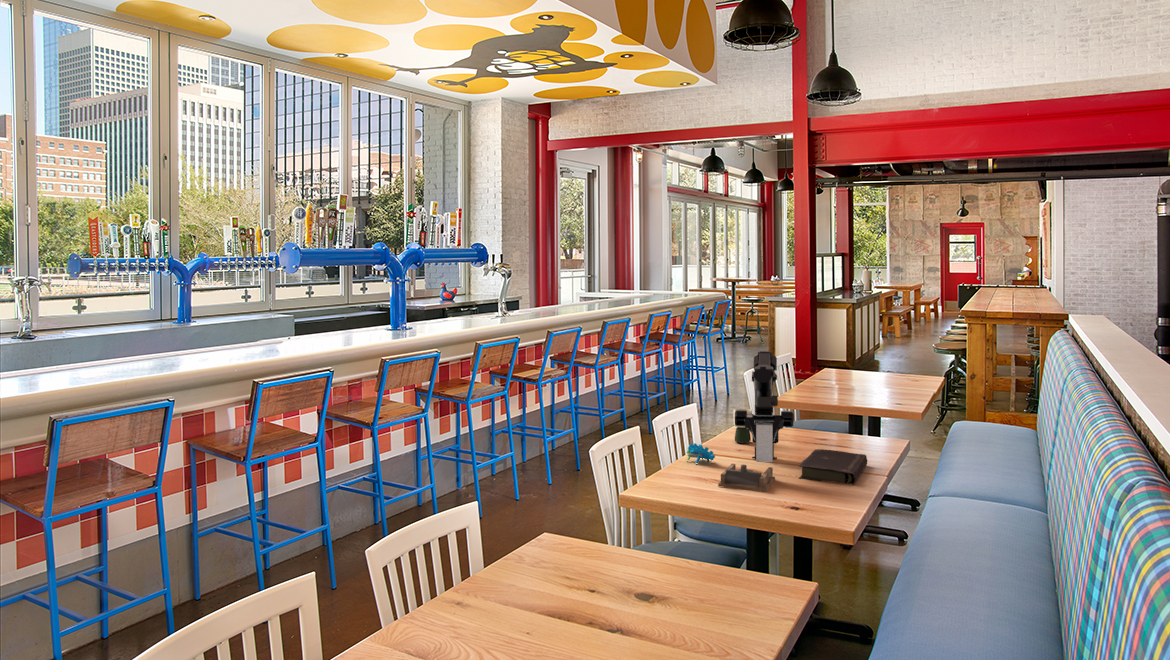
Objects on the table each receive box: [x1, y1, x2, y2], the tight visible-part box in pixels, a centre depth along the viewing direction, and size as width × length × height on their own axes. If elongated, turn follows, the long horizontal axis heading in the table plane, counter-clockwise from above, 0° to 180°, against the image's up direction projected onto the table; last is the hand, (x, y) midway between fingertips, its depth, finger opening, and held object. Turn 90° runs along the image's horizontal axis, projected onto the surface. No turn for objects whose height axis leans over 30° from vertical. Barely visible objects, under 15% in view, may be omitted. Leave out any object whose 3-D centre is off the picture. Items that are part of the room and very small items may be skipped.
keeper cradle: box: [717, 463, 776, 493], centre depth 244 cm, size 14×15×7 cm
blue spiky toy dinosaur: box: [686, 442, 716, 464], centre depth 270 cm, size 11×6×10 cm
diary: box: [798, 448, 868, 486], centre depth 255 cm, size 19×25×5 cm
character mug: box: [732, 408, 753, 444], centre depth 298 cm, size 11×7×13 cm, turn 147°
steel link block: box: [755, 422, 774, 463], centre depth 246 cm, size 5×5×12 cm
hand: (764, 440), depth 244 cm, fingers closed on steel link block, 5 cm apart
